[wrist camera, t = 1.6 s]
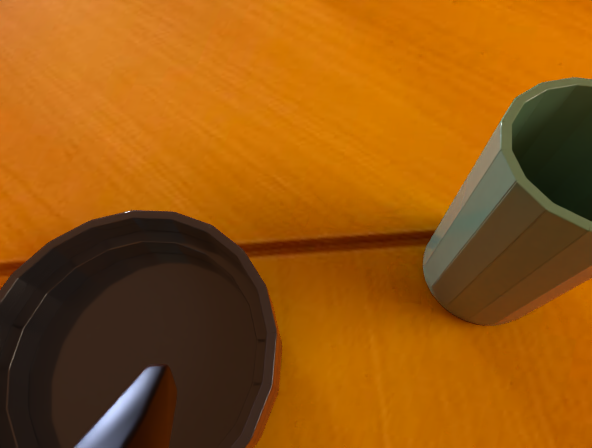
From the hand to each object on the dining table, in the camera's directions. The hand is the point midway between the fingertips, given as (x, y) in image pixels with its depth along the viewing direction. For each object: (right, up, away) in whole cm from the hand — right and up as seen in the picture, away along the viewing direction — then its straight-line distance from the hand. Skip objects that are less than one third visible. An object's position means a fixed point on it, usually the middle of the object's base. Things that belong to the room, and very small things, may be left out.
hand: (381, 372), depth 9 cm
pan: (-10, -5, +15) cm, 18 cm away
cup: (+9, 0, +16) cm, 19 cm away
